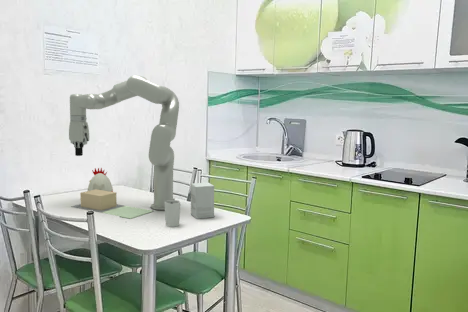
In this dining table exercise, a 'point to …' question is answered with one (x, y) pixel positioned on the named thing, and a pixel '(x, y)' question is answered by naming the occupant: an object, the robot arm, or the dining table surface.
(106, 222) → the dining table surface
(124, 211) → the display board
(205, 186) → the supplement box
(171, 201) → the drinking glass
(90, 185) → the grey domed piece
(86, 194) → the kraft carton
